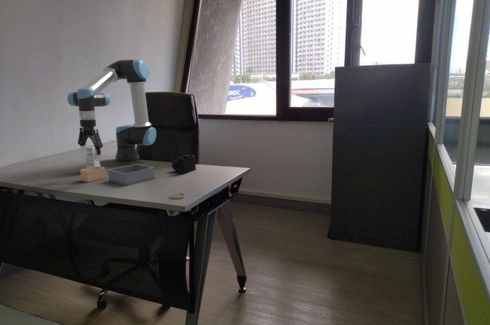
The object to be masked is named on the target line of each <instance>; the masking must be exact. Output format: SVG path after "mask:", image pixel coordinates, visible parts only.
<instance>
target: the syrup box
mask: <svg viewBox="0 0 490 325" xmlns="http://www.w3.org/2000/svg"><path fill="white" fill-rule="evenodd" d="M94 148H95V146H94V145H93V146H86V149H87V158H84V159H85V165H86V166H85V169H86V168H91V167H96V166H100V167H102V166H101V161H96V159H95V149H94Z"/></svg>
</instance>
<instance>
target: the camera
mask: <svg viewBox="0 0 490 325" xmlns="http://www.w3.org/2000/svg"><path fill="white" fill-rule="evenodd" d="M196 164H197V161H196V155H195V154H190V155H188V154H186V155H182V156H180V157H179V158H178V159H174V160H172V162H171V167H172V169H173V170H174V171H176V172H177V171H178V173H177V174H179V175H185V174H188V173H191V172H193V171H194V172H195V170H197V165H196Z"/></svg>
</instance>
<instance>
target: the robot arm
mask: <svg viewBox="0 0 490 325" xmlns="http://www.w3.org/2000/svg"><path fill="white" fill-rule="evenodd" d="M149 76H150V69H149V66H148V64H147V63H146V62H145V61H144V60H142V59H120V60H116V61H114V62H112V63H111V64H109V65H108V66H106V67H105V68H103V71H102V72H101V73H100V74H99V75H97V76H96V77H95V78H94V79H91V81H90V82H89V83H87V84H85V85H84V86H83V87H82V88H78V89H77V90H76V92H75V91H73V92H69V93H68V95H67V98H66V99H67V103H68V104H69V105H70V106H72V107H76V108H77V107H78V115H79V125H80V127H79V134H78V140H77V144H78V145H79V146H80V154H81V159H85V158H87V149H86V148H87V142H88V139H90V140H91V142H92V143H93V146H95V148H94V149H95V159H96V161H100V162H101V161H102V155H101V154H102V153H101V148H103V147H104V145H103V142H102V139H101V137H100V134H99V129H98V128H95V127H96V126H97V121H96V111H95V110H96V107H99V108H100V107H102V108H103V107H107V106H108V105H109V104H110V103H111V97H110V95H109V94H108V93H107V92H103V90H104V89H106V88H107V87H108V86H110V84H112V83H116V82H117V81H119V80H126V82H127V84H128V85H129V87H130V89H129V90H130V95H131V103H132V111H133V117H134V123H133V124H126V125H120V126H116V128H115V137H116V147H117V148H116V149H117V150H116V154H115V156H114V157H115V158H114V159H115V161H116V162H134V161H138V160H139V159H140V155H139V152H138V151H137V149H136V148H137V147H136V145H137V146H151V145H153V144H154V142H155V141H156V138H157V130H156V128H155V127H153V126H152V123H151V122H150V121H149V113H148V112H149V111H148V106H147V105H148V104H147V98H146V97H147V96H146V89H145V87H146V86H145V84H146V83H147V79H149Z"/></svg>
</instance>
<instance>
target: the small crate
mask: <svg viewBox="0 0 490 325" xmlns="http://www.w3.org/2000/svg"><path fill="white" fill-rule="evenodd" d="M106 174H107V173H106V167H104V166H103V167H102V166H101V167H100V166H96V167H91V168H86V167H85V168H81V169H80V179H81V181H82V182H85V183H88V184H89V183H93V182H97V181H102V180H105V179H107V177H106V176H107V175H106Z"/></svg>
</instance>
